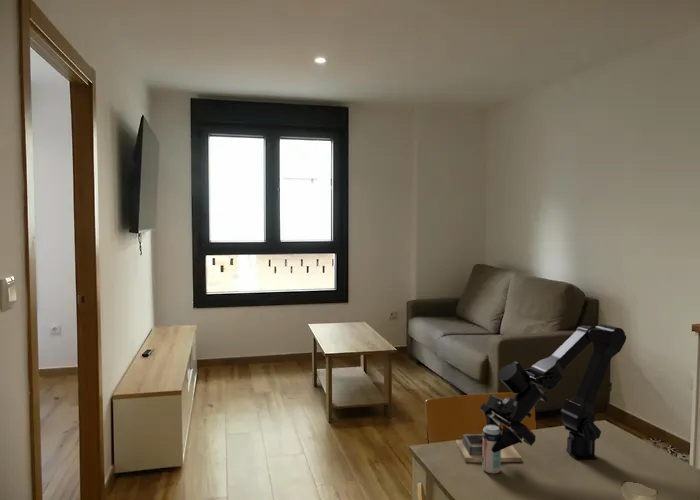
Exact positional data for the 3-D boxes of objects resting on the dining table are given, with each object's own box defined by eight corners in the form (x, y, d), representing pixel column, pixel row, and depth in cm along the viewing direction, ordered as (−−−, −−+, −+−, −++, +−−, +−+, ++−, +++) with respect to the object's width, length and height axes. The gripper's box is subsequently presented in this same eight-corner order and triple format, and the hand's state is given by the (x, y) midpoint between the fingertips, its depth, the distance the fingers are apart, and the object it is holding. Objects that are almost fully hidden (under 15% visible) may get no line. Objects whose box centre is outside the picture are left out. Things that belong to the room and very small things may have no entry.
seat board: (507, 443, 158) (507, 431, 157) (521, 461, 146) (521, 448, 145) (455, 444, 157) (455, 432, 157) (465, 462, 145) (465, 449, 145)
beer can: (486, 464, 144) (486, 422, 143) (503, 469, 141) (503, 426, 140) (479, 471, 140) (480, 428, 139) (496, 476, 137) (497, 432, 137)
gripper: (485, 375, 149) (451, 417, 147) (526, 395, 132) (488, 443, 129) (508, 399, 152) (475, 440, 149) (551, 422, 135) (515, 469, 132)
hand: (487, 447), depth 140 cm, fingers closed on beer can, 5 cm apart
